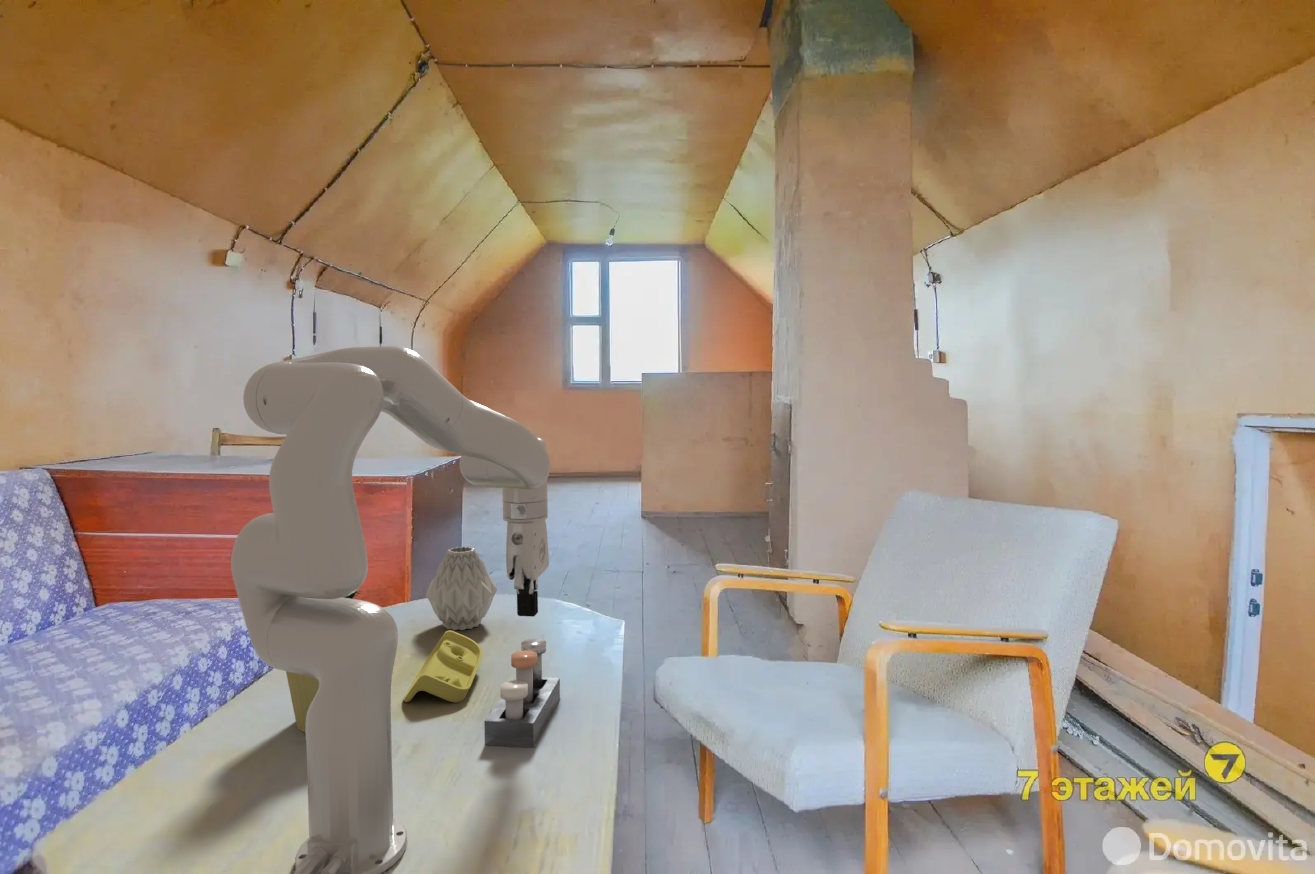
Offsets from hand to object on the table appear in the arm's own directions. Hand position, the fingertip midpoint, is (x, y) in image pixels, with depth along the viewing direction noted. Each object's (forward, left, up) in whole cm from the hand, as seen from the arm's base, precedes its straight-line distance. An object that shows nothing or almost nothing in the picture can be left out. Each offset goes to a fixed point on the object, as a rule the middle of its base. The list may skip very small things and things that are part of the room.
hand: (527, 614), depth 125 cm
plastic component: (+12, +19, -19) cm, 29 cm away
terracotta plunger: (-2, 0, -15) cm, 15 cm away
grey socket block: (-2, 0, -18) cm, 18 cm away
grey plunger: (+4, 0, -15) cm, 16 cm away
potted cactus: (-5, +33, -18) cm, 38 cm away
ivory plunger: (-8, 0, -18) cm, 19 cm away
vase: (+45, +29, -18) cm, 57 cm away
